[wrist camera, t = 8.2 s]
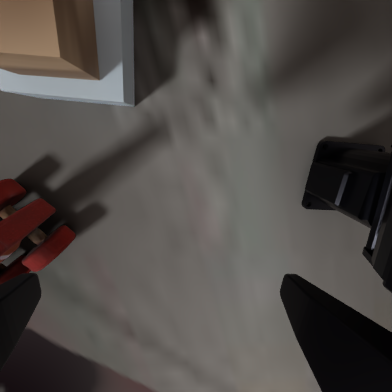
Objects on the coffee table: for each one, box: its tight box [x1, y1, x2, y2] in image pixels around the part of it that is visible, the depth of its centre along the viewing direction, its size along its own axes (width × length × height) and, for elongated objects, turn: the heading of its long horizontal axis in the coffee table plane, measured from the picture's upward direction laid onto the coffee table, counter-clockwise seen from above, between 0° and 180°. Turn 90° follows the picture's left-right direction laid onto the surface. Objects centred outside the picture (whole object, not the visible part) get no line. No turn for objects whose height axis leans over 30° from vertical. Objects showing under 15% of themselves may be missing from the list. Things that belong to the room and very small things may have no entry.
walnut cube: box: [0, 0, 100, 81], centre depth 9 cm, size 4×4×4 cm
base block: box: [0, 0, 135, 107], centre depth 13 cm, size 7×7×4 cm
